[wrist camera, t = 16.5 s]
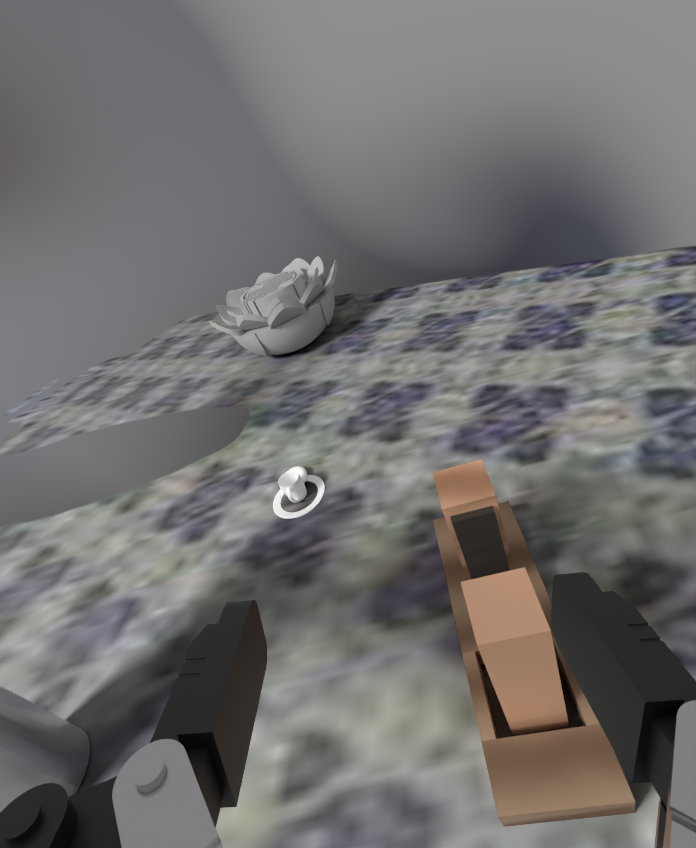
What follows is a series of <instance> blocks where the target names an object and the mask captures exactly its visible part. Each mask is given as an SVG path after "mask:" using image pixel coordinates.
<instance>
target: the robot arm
mask: <svg viewBox="0 0 696 848" xmlns="http://www.w3.org/2000/svg"><path fill="white" fill-rule="evenodd" d="M551 625H552V631H553V635H554V638H555V641H556V643H557V645H558V647H559V649H560V651H561V653H562V655H563V657H564V659H565V660H566V662H567V664H568V666H569V668H570V670H571V671H572V673H573V675H574V677H575V679H576V681H577V683H578V684H579V686H580V688H581V690H582V692H583V694H584V696H585V697H586V699H587V701H588V703H589V705H590V707H591V709H592V710H593V712H594V714H595V716H596V718H597V720H598V721H599V723H600V725H601V727H602V729H603V731H604V733H605V734H606V736H607V738H608V740H609V742H610V744H611V746H612V747H613V749H614V751H615V753H616V755H617V757H618V758H619V760H620V762H621V764H622V766H623V768H624V770H625V771H626V773H627V775H628V777H629V779H630V781H631V783H643V782H652V784H653V786H654V788H655V789H656V791H657V793H658V794H659V796H660V802H659V807H658V818H657V828H656V838H655V848H696V681H695V680H694V678H693V677H692V676H691V675H690V674H689V672H688V671H687V670H686V669H685V668H684V666H683V665H682V664H681V663H680V661H679V660H678V659H677V658H676V657H675V655H674V654H673V653H672V652H671V651H670V649H669V648H668V647H667V646H666V645H665V643H664V642H663V641H662V642H661V640H660V637H659V636H658V635H657V634H656V632H655V631H654V630H653V629H652V628H651V627H649V626H648V623H647V622H646V620H645V619H644V618H643V617H642V615H641V614H640V613H639V612H638V611H637V609H636V608H635V607H634V606H633V605H632V604H630V603H629V602H627V601H626V600H625V599H623V598H622V597H620V596H619V595H617V594H616V593H614V592H613V591H610V592H602V591H601V590H600V588H599V587H598V586H597V584H596V583H595V582H594V580H593V579H592V578H591V577H590V575H589V574H587V573H585V572H582V573H570V574H559V575H555V576H554V579H553V592H552V610H551ZM185 660H186V662H185V663H184V664H183V666H182V669H181V671H180V674H179V679H177V681H176V683H175V685H174V688H173V690H172V692H171V695H170V697H169V700H168V702H167V704H166V707H165V709H164V711H163V714H162V716H161V718H160V721H159V723H158V726H157V728H156V730H155V733H154V735H153V737H152V739H151V741H150V743H149V744H147V745H146V746H144V747H142V748H141V749H140V750H138V751H137V752H136V753H135V754H134V755H132V756H131V757H130V759H129V760H128V761H127V762H126V763H125V765H124V766H123V767H122V769H121V770H120V772H119V774H118V775H117V776H116V777H114V778H112V779H110V780H108V781H105V782H103V783H100V784H98V785H96V786H93V787H91V788H88V789H86V790H83V791H81V792H78V793H76V792H77V790H78V789H79V787H80V784H81V782H82V780H83V777H84V775H85V772H86V769H87V765H88V762H89V755H90V742H89V738H88V735H87V734H86V732H85V731H84V730H82V729H81V728H79V727H77V726H75V725H73V724H71V723H69V722H68V721H66V720H64V719H62V718H60V717H58V716H56V715H55V714H53V713H51V712H49V711H47V710H45V709H43V708H42V707H40V706H38V705H36V704H34V703H32V702H30V701H28V700H26V699H24V698H23V697H21V696H19V695H17V694H15V693H13V692H11V691H9V690H7V689H5V688H3V687H2V686H0V848H223V846H222V843H221V841H220V838H219V836H218V834H217V831H216V829H215V828H216V824H217V819H218V815H219V811H220V808H223V807H236V806H237V801H238V797H239V792H240V787H241V783H242V778H243V773H244V769H245V764H246V759H247V755H248V750H249V745H250V740H251V736H252V731H253V726H254V722H255V717H256V712H257V708H258V703H259V698H260V694H261V689H262V684H263V680H264V675H265V670H266V664H267V645H266V639H265V635H264V631H263V627H262V622H261V618H260V614H259V610H258V606H257V603H256V601H255V600H251V601H240V602H228V603H227V604H226V605H225V607H224V610H223V612H222V615H221V618H220V620H219V623H218V624H210V625H207V626H206V627H205V628H204V629H203V630H202V632H201V633H200V634H199V635H198V636H197V637H196V638H195V640H194V641H193V643H192V645H191V647H190V650H189V652H188V655H187V657H186V659H185Z"/></svg>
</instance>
